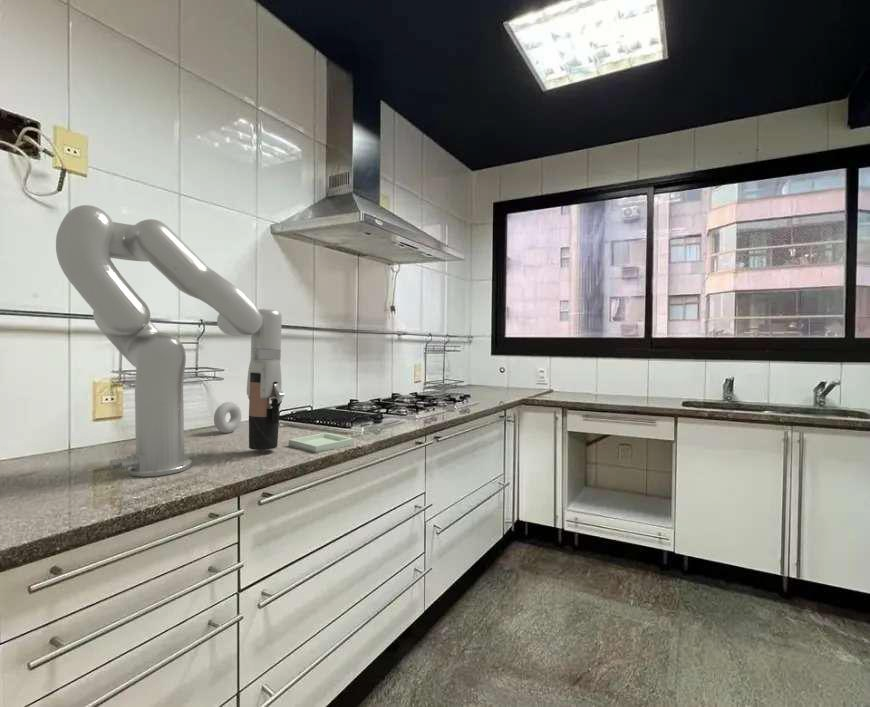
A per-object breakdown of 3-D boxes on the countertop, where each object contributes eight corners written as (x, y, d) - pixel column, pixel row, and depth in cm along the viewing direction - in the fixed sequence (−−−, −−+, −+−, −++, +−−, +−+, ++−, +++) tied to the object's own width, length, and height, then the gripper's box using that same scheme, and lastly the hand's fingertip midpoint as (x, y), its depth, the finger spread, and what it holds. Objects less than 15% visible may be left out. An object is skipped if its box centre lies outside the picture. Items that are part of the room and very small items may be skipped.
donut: (236, 429, 151) (235, 399, 151) (244, 430, 150) (243, 400, 150) (211, 435, 142) (210, 403, 142) (219, 436, 141) (219, 404, 140)
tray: (316, 453, 120) (316, 446, 120) (288, 445, 129) (288, 439, 129) (353, 444, 130) (353, 438, 130) (326, 438, 139) (325, 432, 139)
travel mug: (268, 451, 117) (270, 373, 116) (241, 449, 118) (243, 372, 118) (283, 445, 124) (285, 372, 124) (258, 443, 126) (260, 371, 125)
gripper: (236, 354, 124) (234, 419, 124) (270, 356, 113) (268, 427, 113) (261, 355, 129) (259, 416, 129) (296, 357, 118) (294, 424, 118)
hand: (264, 421), depth 121 cm, fingers closed on travel mug, 7 cm apart
